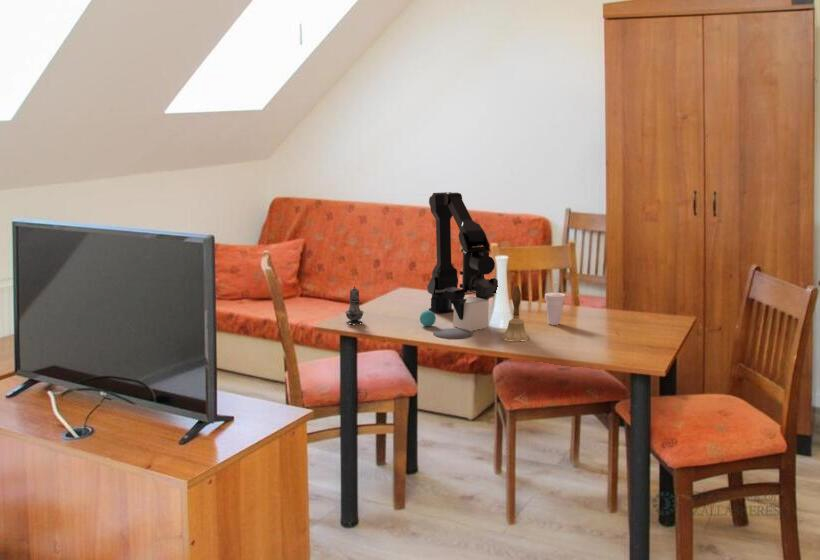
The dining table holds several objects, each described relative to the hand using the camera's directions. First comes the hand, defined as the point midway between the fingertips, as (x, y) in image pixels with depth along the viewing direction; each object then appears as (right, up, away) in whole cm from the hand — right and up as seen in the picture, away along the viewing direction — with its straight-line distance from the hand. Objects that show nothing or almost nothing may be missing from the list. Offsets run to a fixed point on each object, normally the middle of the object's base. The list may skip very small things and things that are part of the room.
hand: (470, 317), depth 304 cm
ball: (-13, 0, +1) cm, 13 cm away
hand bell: (+13, -6, -12) cm, 18 cm away
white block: (0, -3, +1) cm, 3 cm away
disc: (-6, -5, -8) cm, 11 cm away
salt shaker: (-37, -2, +5) cm, 37 cm away
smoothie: (+27, -2, +6) cm, 27 cm away
